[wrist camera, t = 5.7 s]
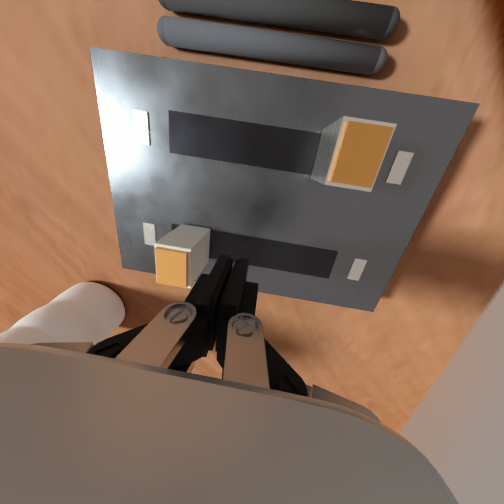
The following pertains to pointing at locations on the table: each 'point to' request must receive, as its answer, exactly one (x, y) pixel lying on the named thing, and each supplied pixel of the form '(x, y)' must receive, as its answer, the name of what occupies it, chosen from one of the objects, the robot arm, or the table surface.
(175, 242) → the lever
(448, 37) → the table surface
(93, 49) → the slider control panel
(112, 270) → the table surface
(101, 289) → the water bottle
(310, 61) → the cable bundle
